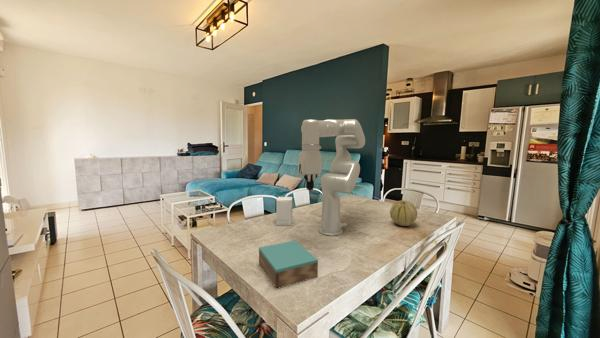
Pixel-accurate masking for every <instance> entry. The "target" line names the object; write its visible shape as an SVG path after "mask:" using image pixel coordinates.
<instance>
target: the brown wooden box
mask: <svg viewBox="0 0 600 338" xmlns="http://www.w3.org/2000/svg"><path fill="white" fill-rule="evenodd" d="M259 263H260V264H259ZM258 264H259V265H260V267H261V266H262V267H261V268H262V269H264V270H263V271H264V272H266V273H265V274H266V276H267V275H268V276H269V277H268V276H267V277H268V279H269V278H270V279H271V280H270V279H269V280H270V281H272V282H273V283H272V282H271V283H272V285H273V286H274V285H275V286H274V287H275V289H276V288H277V289H280V288H283V287H282V286H284V287H287V286H290V285H289V284H291V285H293V283H294V284H297V283H296V282H298V283H301V282H304V281H307V280H306V279H308V280H311V279H314V278H313V277H315V278H317V276H319V273H318V268H319V261H318V262H317V263H313V264H309V265H305V266H301V267H297V268H293V269H289V270H285V271H282V272H278V273H276V272H275V270H274V269H273V268H272V266H271V265H270V264H269V263H268V261H267V260H266V259H265V257H264V256H263V255H262V253H261V252H260V251H259V250H258ZM310 278H311V279H310ZM303 280H304V281H303ZM300 281H301V282H300ZM286 285H287V286H286ZM279 287H280V288H279Z"/></svg>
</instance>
